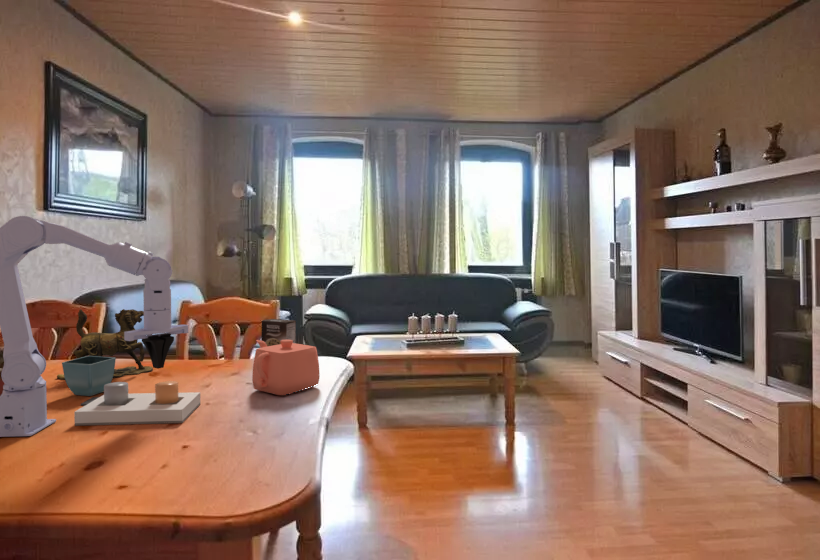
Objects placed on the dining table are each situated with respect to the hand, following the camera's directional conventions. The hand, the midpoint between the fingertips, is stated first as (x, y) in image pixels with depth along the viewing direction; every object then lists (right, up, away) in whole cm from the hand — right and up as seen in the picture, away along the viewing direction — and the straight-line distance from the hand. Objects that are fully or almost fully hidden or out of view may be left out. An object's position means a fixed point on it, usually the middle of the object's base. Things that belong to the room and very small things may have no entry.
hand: (158, 367), depth 119 cm
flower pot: (-25, -10, +15) cm, 31 cm away
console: (-3, -11, -1) cm, 11 cm away
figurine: (-34, -9, +36) cm, 50 cm away
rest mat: (-18, -10, +8) cm, 23 cm away
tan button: (+2, -8, -1) cm, 8 cm away
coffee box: (+16, -9, +46) cm, 49 cm away
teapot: (+22, -10, +24) cm, 34 cm away
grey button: (-9, -8, -2) cm, 12 cm away
